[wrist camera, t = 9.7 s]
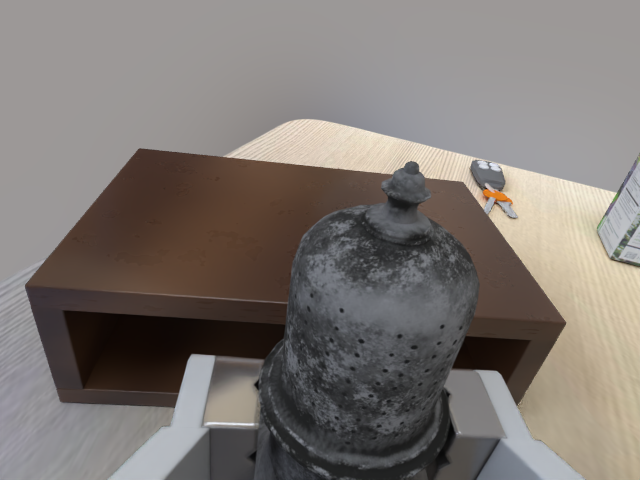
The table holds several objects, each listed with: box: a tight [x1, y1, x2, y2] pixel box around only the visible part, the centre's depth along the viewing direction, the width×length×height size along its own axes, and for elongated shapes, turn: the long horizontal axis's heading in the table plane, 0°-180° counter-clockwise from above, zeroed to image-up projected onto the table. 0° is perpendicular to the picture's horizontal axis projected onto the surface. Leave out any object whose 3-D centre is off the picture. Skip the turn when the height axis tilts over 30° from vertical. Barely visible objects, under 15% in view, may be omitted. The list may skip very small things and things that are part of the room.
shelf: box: [25, 149, 566, 407], centre depth 25 cm, size 22×14×7 cm, turn 92°
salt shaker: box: [254, 161, 480, 480], centre depth 9 cm, size 6×6×12 cm
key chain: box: [470, 160, 518, 218], centre depth 46 cm, size 13×4×2 cm, turn 169°
